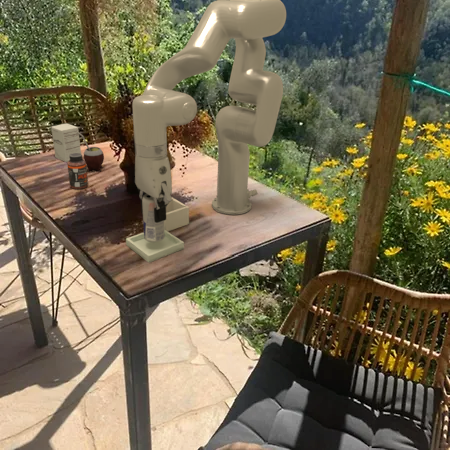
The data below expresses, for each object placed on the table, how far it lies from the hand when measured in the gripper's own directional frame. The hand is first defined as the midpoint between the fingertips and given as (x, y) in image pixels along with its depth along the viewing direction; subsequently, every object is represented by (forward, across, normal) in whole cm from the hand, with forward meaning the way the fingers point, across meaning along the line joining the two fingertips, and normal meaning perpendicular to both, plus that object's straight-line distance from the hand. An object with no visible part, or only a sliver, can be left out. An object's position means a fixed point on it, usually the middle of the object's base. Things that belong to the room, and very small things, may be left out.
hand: (153, 216), depth 117 cm
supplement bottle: (+9, +49, -2) cm, 50 cm away
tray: (+9, 0, 0) cm, 9 cm away
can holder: (+9, +9, -11) cm, 17 cm away
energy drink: (+7, 0, 0) cm, 7 cm away
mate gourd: (+9, +60, -13) cm, 62 cm away
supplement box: (+9, +77, -11) cm, 78 cm away
